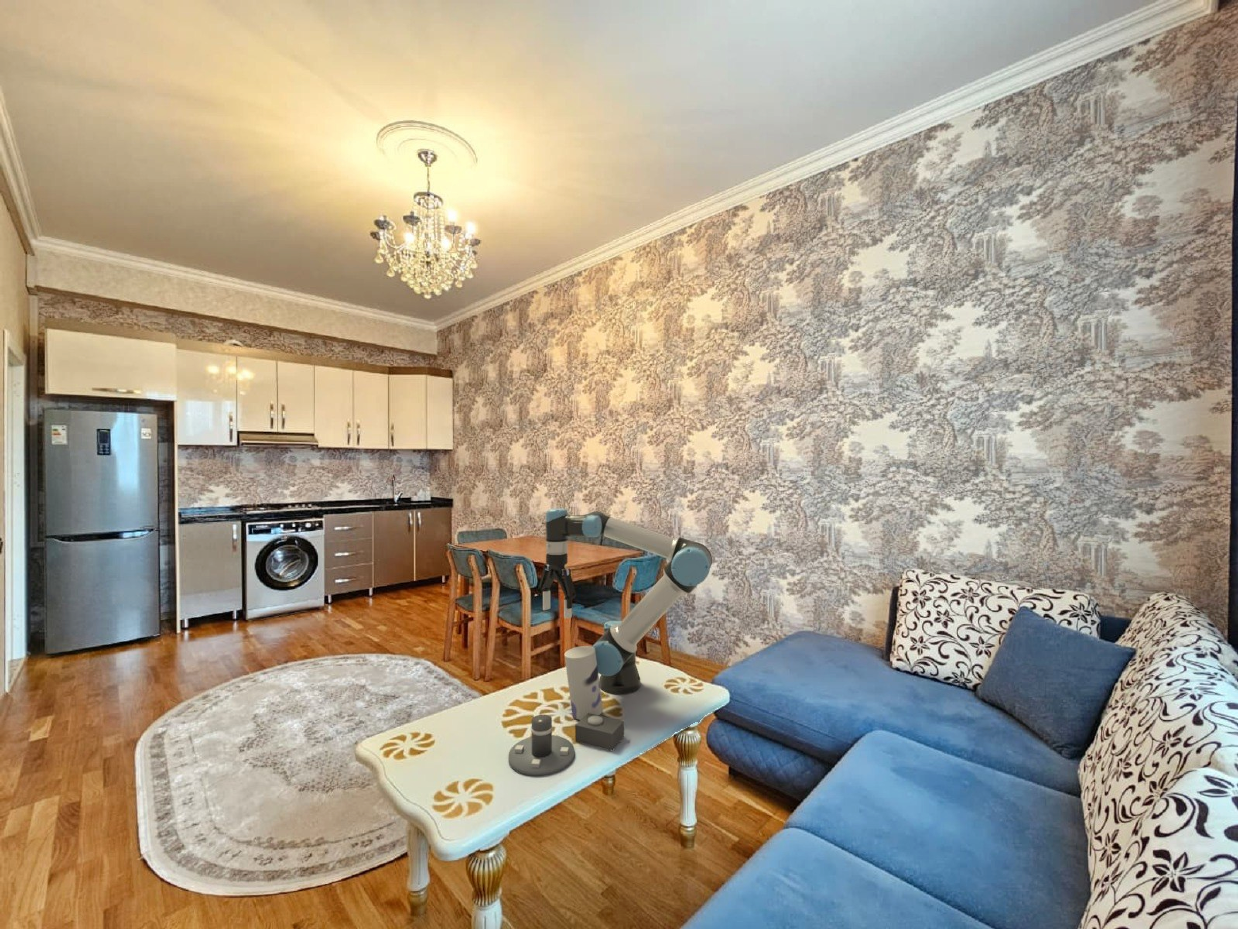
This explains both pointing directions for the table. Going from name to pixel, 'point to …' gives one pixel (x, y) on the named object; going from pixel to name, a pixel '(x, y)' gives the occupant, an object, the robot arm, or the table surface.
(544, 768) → the plate
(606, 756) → the table surface
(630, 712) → the table surface
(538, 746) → the grey rounded cylinder
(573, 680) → the container
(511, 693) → the table surface
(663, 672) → the table surface
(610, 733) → the camera body block
